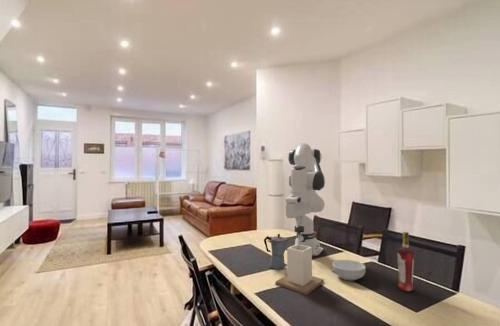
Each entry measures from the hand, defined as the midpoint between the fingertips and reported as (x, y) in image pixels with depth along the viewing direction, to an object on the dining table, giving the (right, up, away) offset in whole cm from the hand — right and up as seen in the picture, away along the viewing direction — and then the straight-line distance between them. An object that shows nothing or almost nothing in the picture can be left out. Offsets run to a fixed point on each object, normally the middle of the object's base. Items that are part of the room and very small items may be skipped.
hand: (299, 224), depth 148 cm
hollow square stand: (0, -31, 0) cm, 31 cm away
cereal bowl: (+28, -31, +7) cm, 42 cm away
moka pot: (-10, -31, +23) cm, 39 cm away
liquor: (+51, -31, -8) cm, 60 cm away
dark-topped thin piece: (0, -18, 0) cm, 18 cm away
